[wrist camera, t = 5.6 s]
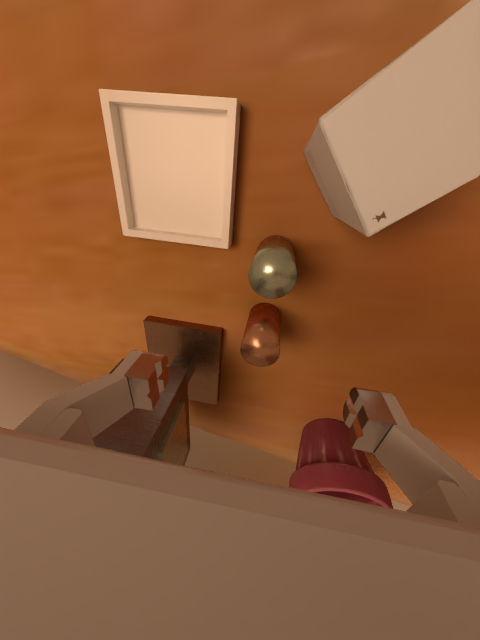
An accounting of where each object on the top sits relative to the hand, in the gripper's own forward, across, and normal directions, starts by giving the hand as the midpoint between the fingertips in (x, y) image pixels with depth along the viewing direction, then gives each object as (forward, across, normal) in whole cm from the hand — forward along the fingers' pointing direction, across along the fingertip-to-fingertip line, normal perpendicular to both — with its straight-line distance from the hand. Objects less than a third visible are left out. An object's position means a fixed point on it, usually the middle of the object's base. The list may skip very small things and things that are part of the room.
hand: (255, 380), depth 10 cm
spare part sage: (+22, 0, 0) cm, 22 cm away
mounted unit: (+22, +12, +20) cm, 32 cm away
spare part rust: (+22, 0, +9) cm, 23 cm away
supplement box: (+22, -6, -10) cm, 25 cm away
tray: (+22, +12, -7) cm, 25 cm away
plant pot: (+22, -16, +32) cm, 42 cm away
